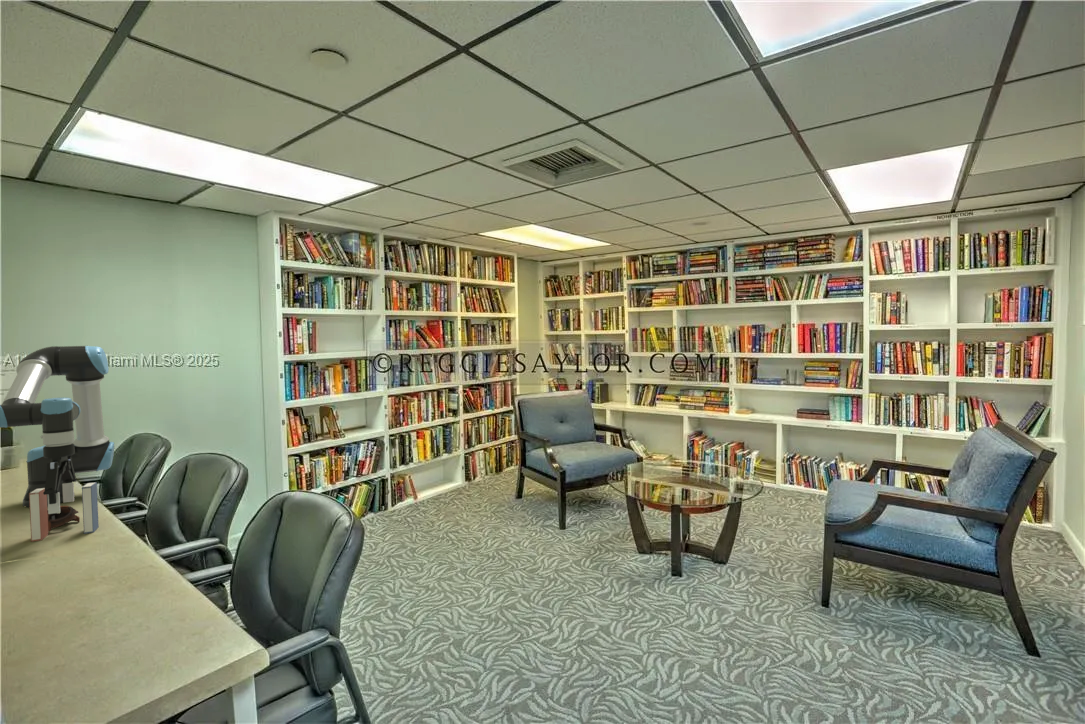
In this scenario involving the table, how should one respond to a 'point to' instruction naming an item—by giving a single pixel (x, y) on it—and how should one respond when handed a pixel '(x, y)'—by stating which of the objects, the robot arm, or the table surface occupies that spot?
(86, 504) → the navy book
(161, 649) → the table surface
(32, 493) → the brick red book
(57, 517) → the pottery mug
